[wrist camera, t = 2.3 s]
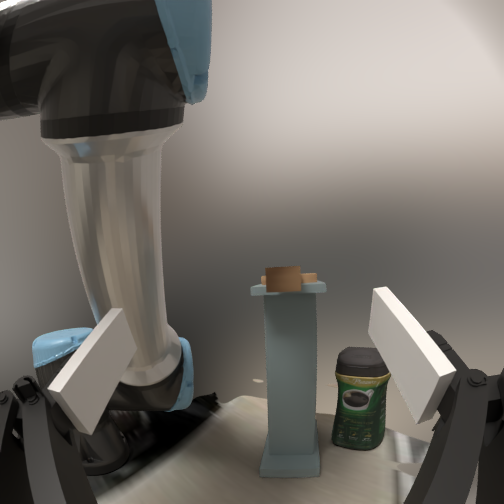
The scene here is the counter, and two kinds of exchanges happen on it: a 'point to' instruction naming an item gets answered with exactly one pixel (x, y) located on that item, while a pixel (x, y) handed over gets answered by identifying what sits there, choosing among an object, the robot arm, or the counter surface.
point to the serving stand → (291, 382)
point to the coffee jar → (360, 398)
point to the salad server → (286, 279)
